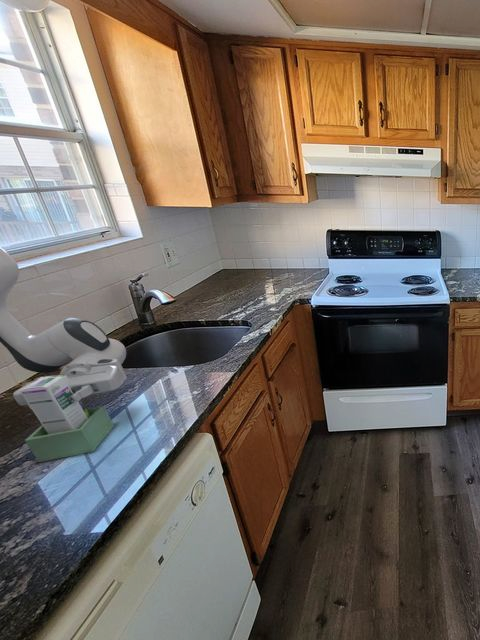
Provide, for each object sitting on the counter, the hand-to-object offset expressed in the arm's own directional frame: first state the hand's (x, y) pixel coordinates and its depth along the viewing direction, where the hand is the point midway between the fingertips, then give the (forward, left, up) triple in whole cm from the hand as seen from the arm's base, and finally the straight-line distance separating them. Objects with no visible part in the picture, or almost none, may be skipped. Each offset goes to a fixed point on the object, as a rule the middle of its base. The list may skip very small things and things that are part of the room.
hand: (53, 403), depth 86 cm
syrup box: (+1, +1, -9) cm, 9 cm away
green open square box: (+1, +1, -13) cm, 13 cm away
